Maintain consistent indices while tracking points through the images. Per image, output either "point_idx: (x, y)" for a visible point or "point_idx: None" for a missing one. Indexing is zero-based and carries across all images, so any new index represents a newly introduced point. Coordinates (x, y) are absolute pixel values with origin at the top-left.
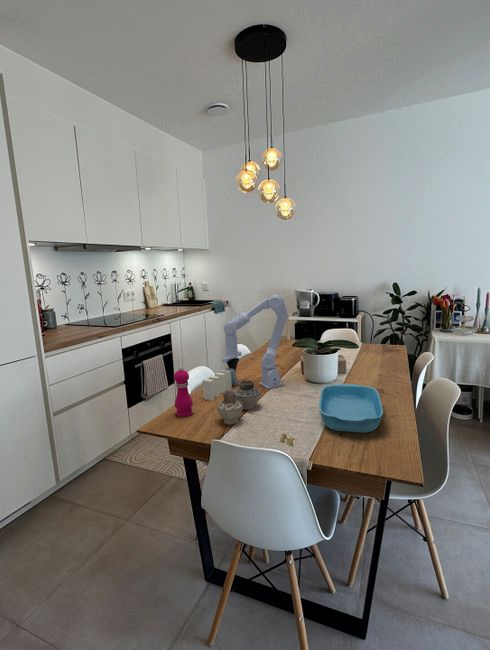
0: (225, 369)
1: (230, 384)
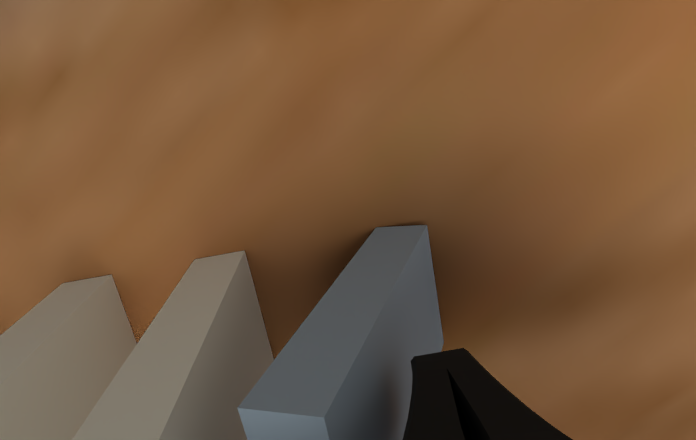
0: (271, 423)
1: None
